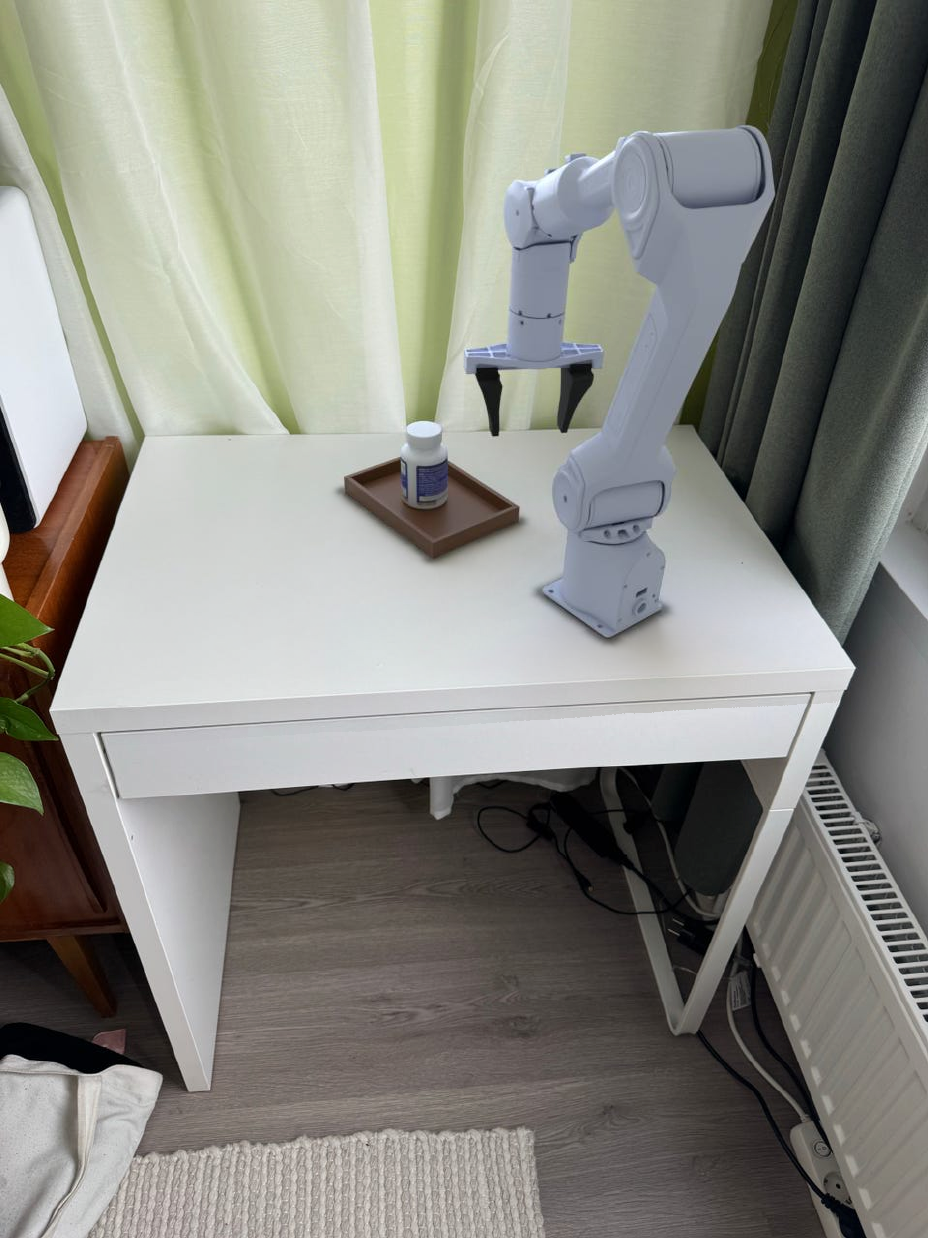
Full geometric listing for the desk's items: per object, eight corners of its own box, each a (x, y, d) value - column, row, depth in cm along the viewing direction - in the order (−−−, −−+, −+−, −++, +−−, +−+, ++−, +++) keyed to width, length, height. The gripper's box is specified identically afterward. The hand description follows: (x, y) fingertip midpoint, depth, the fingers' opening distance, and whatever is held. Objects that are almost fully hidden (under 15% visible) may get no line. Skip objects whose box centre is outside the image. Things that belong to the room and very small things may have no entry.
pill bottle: (455, 494, 108) (456, 425, 103) (433, 515, 105) (433, 444, 99) (415, 482, 110) (415, 414, 105) (393, 502, 106) (391, 432, 101)
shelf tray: (518, 521, 105) (519, 506, 104) (432, 558, 99) (433, 543, 98) (427, 461, 115) (427, 446, 114) (344, 491, 109) (343, 476, 108)
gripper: (596, 292, 98) (583, 411, 106) (460, 296, 96) (457, 416, 104) (615, 317, 92) (599, 440, 101) (471, 322, 90) (467, 447, 99)
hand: (528, 430), depth 102 cm, fingers open, 7 cm apart
